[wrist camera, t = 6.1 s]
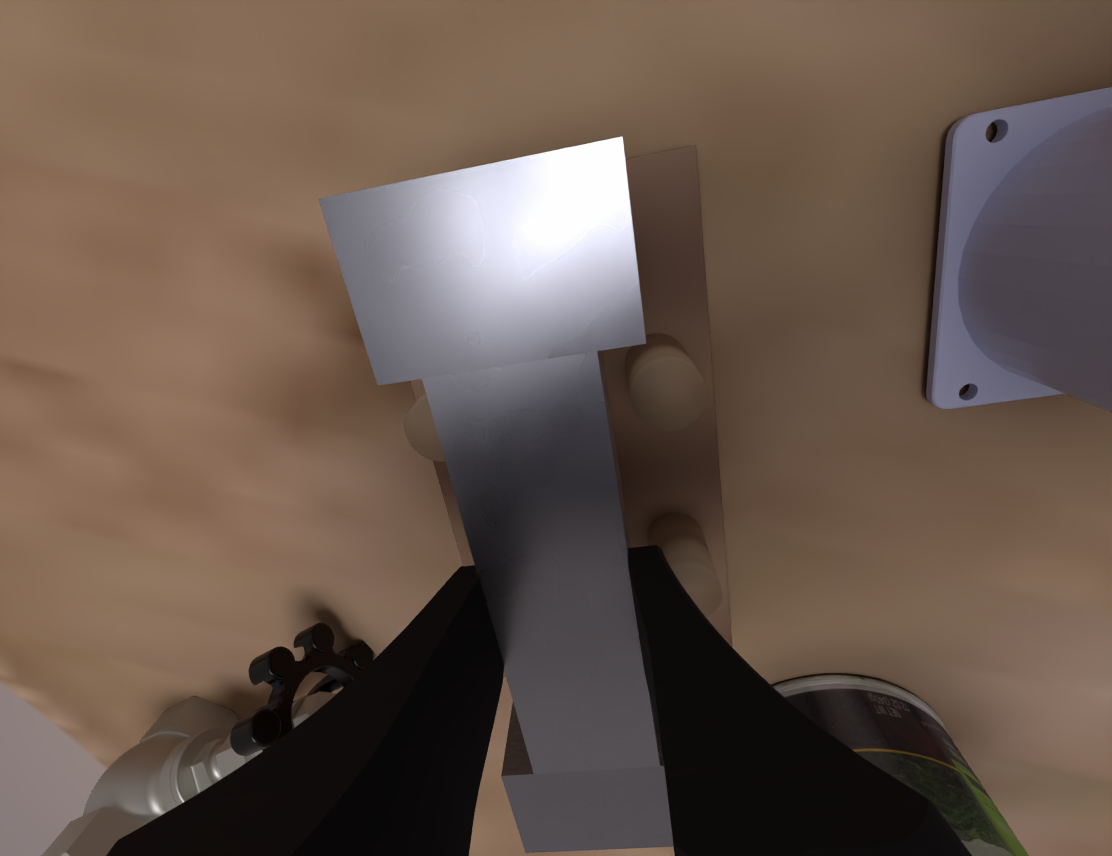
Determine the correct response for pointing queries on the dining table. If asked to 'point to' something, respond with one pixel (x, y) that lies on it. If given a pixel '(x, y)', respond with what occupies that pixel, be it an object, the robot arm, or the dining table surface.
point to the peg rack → (653, 393)
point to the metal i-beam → (529, 453)
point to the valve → (207, 743)
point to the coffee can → (906, 751)
